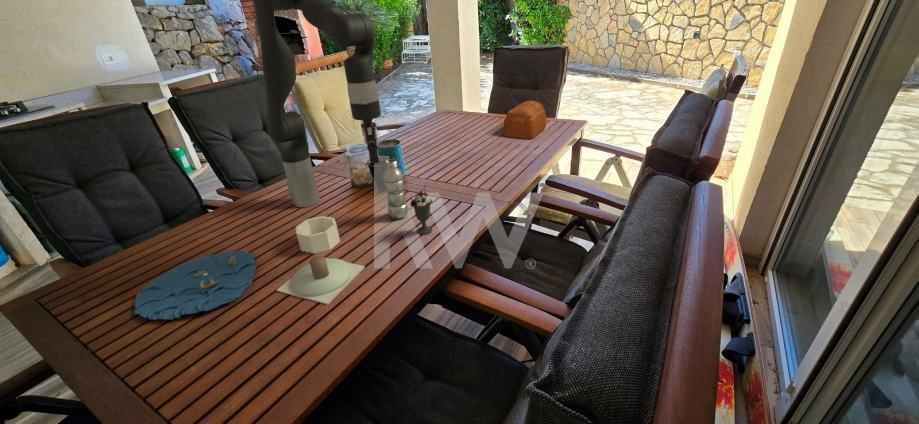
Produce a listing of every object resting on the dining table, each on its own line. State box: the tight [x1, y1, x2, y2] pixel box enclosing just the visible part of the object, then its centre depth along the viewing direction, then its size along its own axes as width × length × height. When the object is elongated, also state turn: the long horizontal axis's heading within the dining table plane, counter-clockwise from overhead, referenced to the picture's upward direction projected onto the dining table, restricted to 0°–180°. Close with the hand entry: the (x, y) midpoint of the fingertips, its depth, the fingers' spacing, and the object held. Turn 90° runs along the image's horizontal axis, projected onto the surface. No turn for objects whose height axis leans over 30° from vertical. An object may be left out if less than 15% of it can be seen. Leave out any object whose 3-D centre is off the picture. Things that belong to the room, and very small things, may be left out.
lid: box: [291, 255, 351, 296], centre depth 104 cm, size 15×15×6 cm
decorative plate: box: [133, 249, 257, 321], centre depth 105 cm, size 30×30×5 cm
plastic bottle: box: [382, 158, 409, 220], centre depth 130 cm, size 6×7×20 cm
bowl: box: [295, 215, 341, 254], centre depth 121 cm, size 11×12×6 cm
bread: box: [503, 100, 547, 140], centre depth 210 cm, size 17×24×15 cm
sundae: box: [410, 185, 433, 235], centre depth 122 cm, size 7×7×15 cm
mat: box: [276, 257, 366, 306], centre depth 105 cm, size 16×16×1 cm
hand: (373, 158), depth 111 cm, fingers open, 8 cm apart
